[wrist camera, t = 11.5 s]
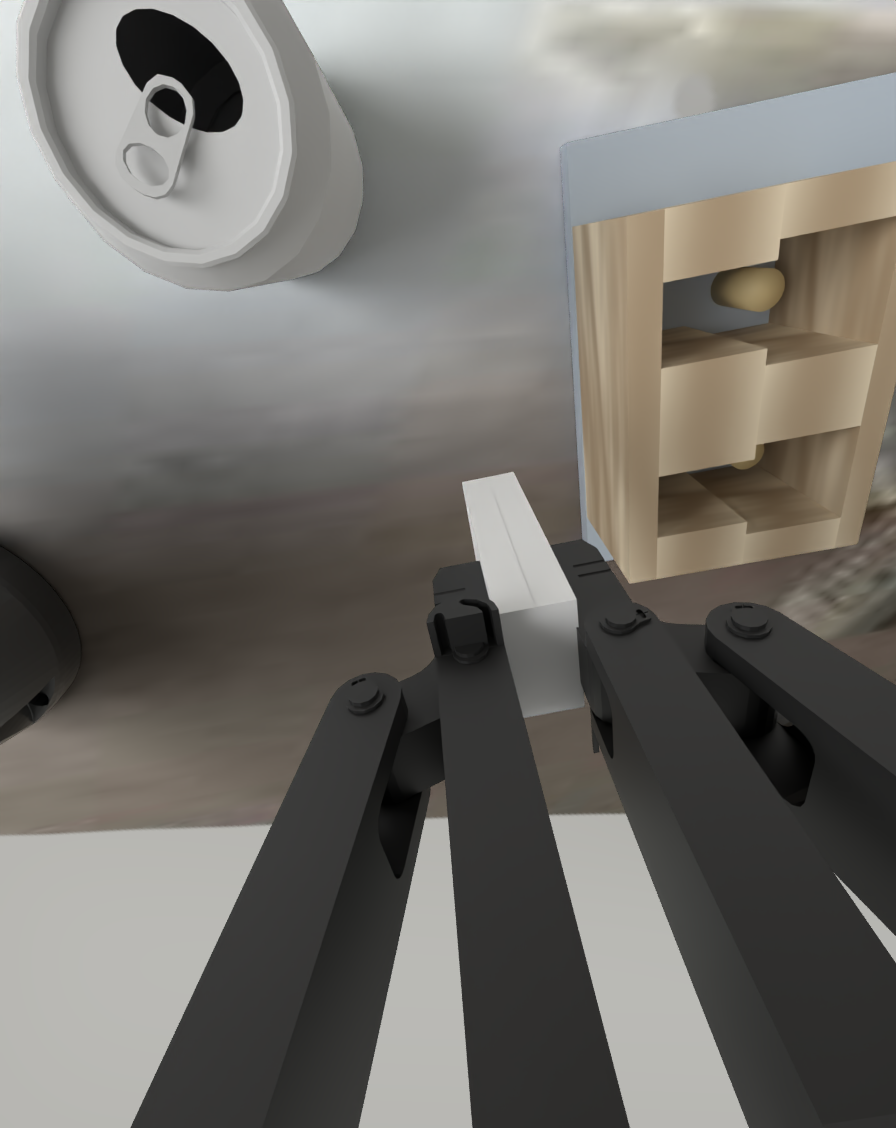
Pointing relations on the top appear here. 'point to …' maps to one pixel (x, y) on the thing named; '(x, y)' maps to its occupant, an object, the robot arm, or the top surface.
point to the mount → (716, 168)
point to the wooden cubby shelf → (738, 375)
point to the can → (192, 135)
